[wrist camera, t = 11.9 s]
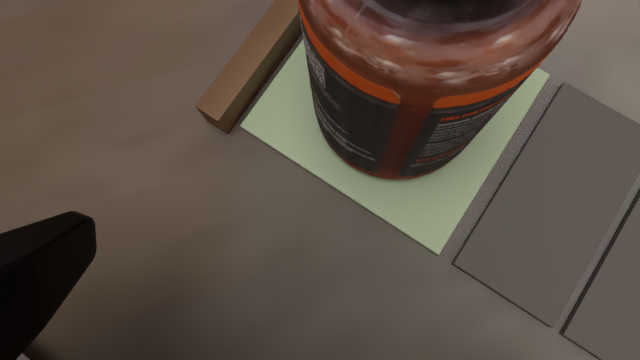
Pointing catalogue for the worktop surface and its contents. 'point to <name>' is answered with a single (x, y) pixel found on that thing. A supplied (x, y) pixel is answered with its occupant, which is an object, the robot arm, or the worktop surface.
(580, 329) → the pads
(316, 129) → the pad
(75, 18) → the worktop surface
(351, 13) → the supplement bottle
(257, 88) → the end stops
